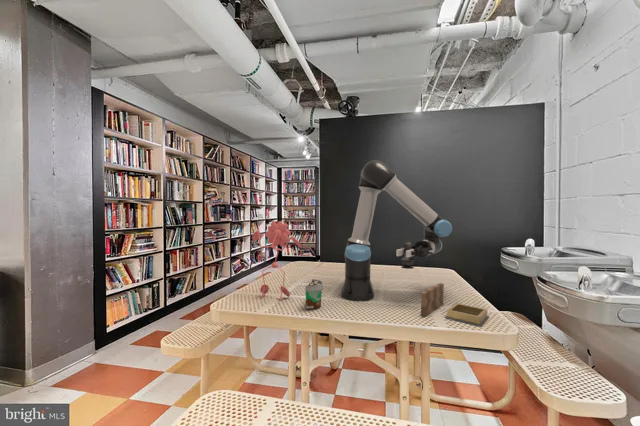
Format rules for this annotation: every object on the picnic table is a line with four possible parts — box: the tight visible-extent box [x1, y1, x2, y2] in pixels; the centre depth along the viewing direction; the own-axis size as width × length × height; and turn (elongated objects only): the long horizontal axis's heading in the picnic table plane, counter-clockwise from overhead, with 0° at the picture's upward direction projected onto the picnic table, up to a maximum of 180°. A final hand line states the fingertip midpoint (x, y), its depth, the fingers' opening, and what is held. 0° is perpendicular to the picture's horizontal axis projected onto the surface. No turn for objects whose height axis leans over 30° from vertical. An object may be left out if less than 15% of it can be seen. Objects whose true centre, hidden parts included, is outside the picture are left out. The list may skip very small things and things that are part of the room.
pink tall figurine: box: [251, 220, 303, 303], centre depth 137 cm, size 15×26×35 cm, turn 71°
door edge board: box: [420, 282, 445, 318], centre depth 119 cm, size 20×2×9 cm, turn 138°
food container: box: [304, 279, 324, 311], centre depth 121 cm, size 12×6×10 cm, turn 168°
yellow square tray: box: [445, 303, 490, 328], centre depth 110 cm, size 12×12×3 cm
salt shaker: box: [400, 239, 415, 270], centre depth 126 cm, size 6×6×12 cm
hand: (402, 253), depth 122 cm, fingers closed on salt shaker, 4 cm apart
